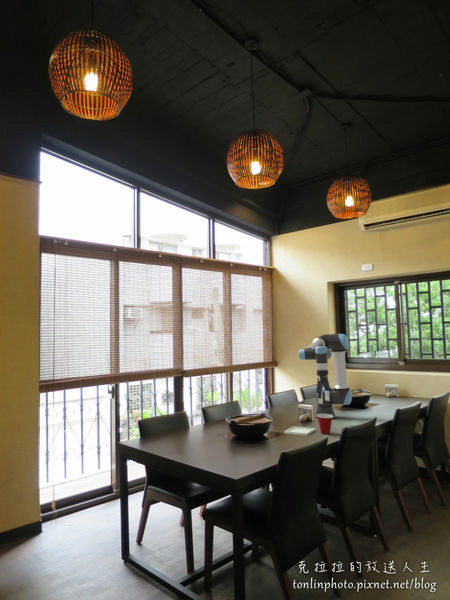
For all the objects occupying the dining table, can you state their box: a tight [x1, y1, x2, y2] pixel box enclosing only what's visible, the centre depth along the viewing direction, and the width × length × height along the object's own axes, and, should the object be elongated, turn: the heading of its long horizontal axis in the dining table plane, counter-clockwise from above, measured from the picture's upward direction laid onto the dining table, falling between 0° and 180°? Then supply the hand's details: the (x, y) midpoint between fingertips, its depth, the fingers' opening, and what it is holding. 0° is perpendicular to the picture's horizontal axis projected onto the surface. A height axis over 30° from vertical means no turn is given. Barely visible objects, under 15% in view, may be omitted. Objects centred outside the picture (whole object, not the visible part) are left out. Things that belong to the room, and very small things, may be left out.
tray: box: [283, 426, 317, 437], centre depth 286 cm, size 16×16×1 cm
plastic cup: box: [317, 414, 333, 435], centre depth 279 cm, size 11×11×12 cm
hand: (324, 401), depth 280 cm, fingers open, 13 cm apart
